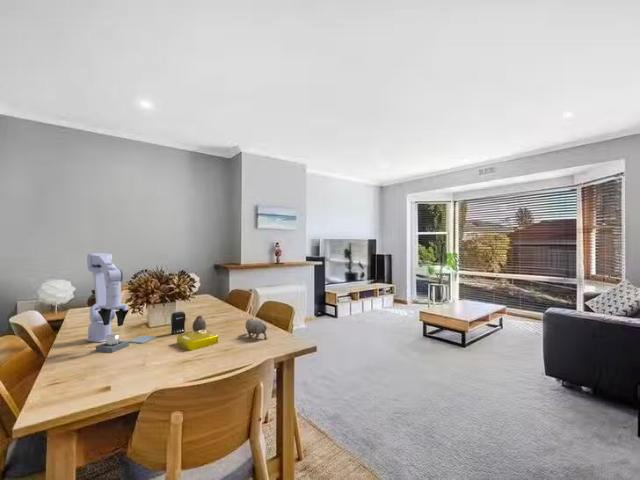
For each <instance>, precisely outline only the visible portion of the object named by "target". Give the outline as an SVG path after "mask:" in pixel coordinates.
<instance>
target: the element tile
mask: <svg viewBox="0 0 640 480" xmlns="http://www.w3.org/2000/svg"><path fill="white" fill-rule="evenodd" d="M214 344H215V345H217V344H219V335H218V334H216V333H214V332H212V331H210V330H207V329H205V330H200V331H195V332H194V331H191V332H187V333H181V334H177V336H176V345H177V346H179V347H180V348H183V349H184V350H186V351H190V352H191V351H194V350H195V351H196V350H199V349H203V348H207V347H210V345H211V346H215V345H214Z"/></svg>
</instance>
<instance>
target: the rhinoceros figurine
mask: <svg viewBox="0 0 640 480" xmlns="http://www.w3.org/2000/svg"><path fill="white" fill-rule="evenodd" d="M245 320H246V322H245V330H246V331H247V334H248V336H247V339H248V338H249V339H251V338H252V335H254V334H255V336H254V338H253V340H254V339H256V340H258V339H259V337H260V335H261V334H263V336H264V337H263V340H264V339H265V338H266V339H265V340H268V337H267V329H268V327H267V324H266V322H265V321H263V320H260V319H253V318H252V317H251V318H250V319H246V318H245ZM250 337H251V338H250Z"/></svg>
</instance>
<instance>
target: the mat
mask: <svg viewBox="0 0 640 480" xmlns="http://www.w3.org/2000/svg"><path fill="white" fill-rule="evenodd" d="M157 338H158V337H157V336H151V335H150V336H149V335H140V336H138V337H134V338H132V339H130V340H128V341H129V344H130V343H131V344H141V345H142V344H145V343H148V342H150V341H152V340H156V339H157Z"/></svg>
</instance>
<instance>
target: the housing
mask: <svg viewBox="0 0 640 480" xmlns="http://www.w3.org/2000/svg"><path fill="white" fill-rule="evenodd" d="M129 346H130V342H129V340H127V341H125V340H119V344H118V345H115V346H113V347H111V346H106V342H104V343H102V344H98V345H96V346H95V351H96V352H104V353H114V352H117V351H119V350H122V349H124V348H127V347H129Z"/></svg>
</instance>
